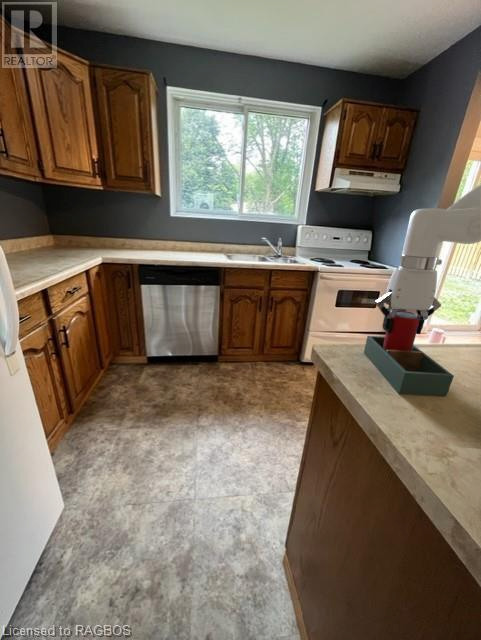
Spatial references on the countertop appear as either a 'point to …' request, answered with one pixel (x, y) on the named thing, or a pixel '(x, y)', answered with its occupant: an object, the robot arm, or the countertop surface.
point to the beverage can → (402, 332)
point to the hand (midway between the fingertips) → (401, 331)
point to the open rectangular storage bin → (408, 369)
